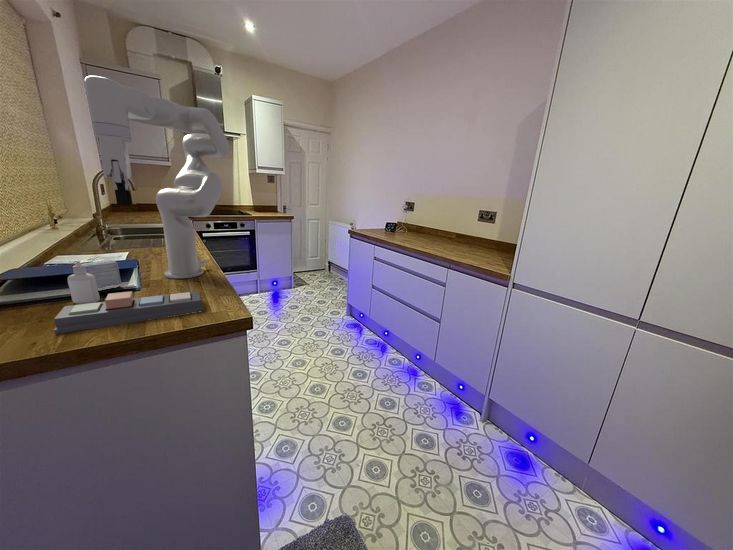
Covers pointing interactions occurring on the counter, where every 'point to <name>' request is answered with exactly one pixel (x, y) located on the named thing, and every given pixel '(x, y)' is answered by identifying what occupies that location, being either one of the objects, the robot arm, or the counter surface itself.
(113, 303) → the key
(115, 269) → the medicine box
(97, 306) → the key
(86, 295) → the eye dropper bottle
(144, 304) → the key
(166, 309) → the keypad housing
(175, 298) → the key
